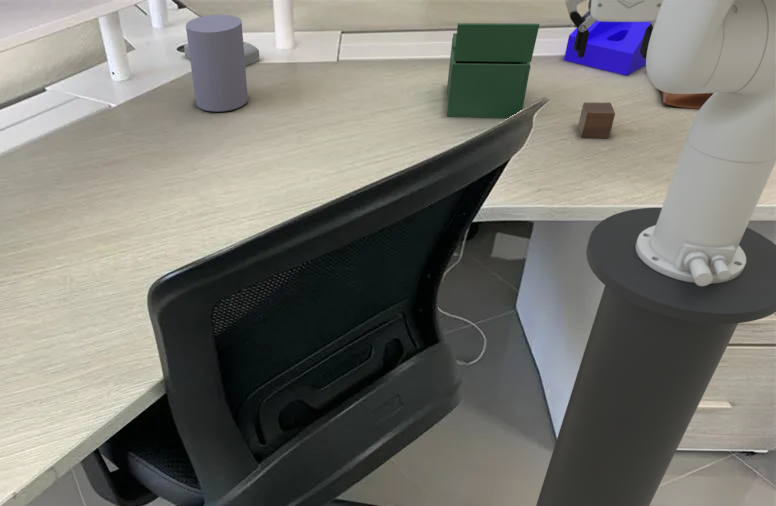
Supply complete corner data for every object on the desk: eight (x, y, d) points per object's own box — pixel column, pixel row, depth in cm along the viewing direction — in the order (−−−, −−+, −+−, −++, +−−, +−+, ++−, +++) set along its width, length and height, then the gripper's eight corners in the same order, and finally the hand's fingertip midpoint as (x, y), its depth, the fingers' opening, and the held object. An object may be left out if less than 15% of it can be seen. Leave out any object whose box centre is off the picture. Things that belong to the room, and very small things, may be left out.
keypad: (216, 29, 162) (258, 43, 153) (218, 46, 164) (259, 60, 155) (183, 40, 157) (224, 55, 149) (185, 57, 160) (226, 72, 151)
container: (254, 93, 141) (248, 15, 132) (239, 114, 134) (231, 33, 124) (206, 90, 144) (196, 13, 134) (188, 111, 136) (177, 31, 127)
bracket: (614, 34, 156) (627, -17, 150) (675, 47, 148) (692, -6, 142) (563, 60, 146) (575, 6, 139) (626, 75, 138) (642, 19, 131)
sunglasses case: (645, 68, 139) (673, 38, 135) (673, 87, 140) (701, 58, 136) (662, 105, 126) (694, 73, 122) (692, 125, 127) (725, 95, 123)
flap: (530, 60, 120) (531, 62, 119) (453, 59, 122) (453, 61, 122) (539, 23, 114) (539, 24, 114) (457, 23, 116) (457, 24, 116)
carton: (520, 118, 126) (531, 60, 119) (446, 116, 128) (453, 59, 122) (515, 88, 136) (524, 33, 130) (447, 87, 139) (452, 33, 132)
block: (608, 138, 118) (615, 113, 115) (581, 137, 119) (587, 112, 116) (604, 127, 122) (610, 102, 119) (577, 126, 122) (583, 102, 120)
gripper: (582, -58, 100) (557, 63, 111) (715, -60, 97) (675, 64, 108) (576, -71, 105) (552, 46, 117) (701, -73, 102) (664, 47, 114)
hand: (611, 55), depth 112 cm, fingers open, 9 cm apart
